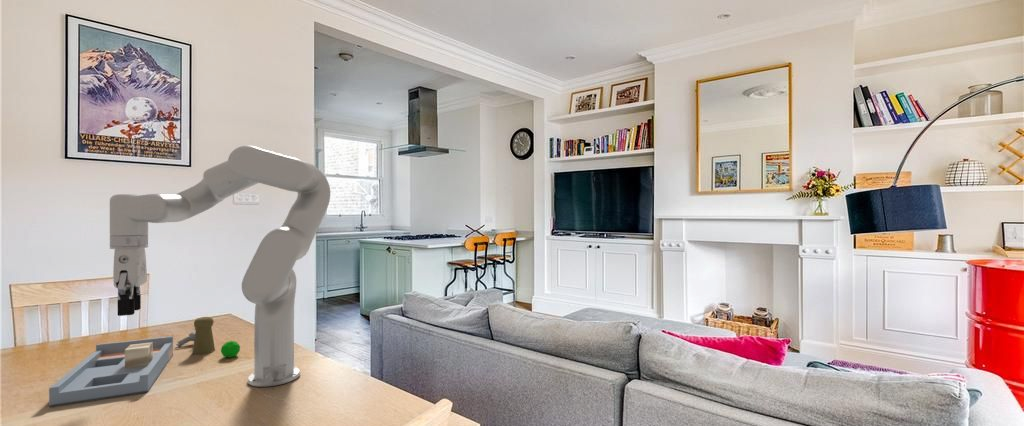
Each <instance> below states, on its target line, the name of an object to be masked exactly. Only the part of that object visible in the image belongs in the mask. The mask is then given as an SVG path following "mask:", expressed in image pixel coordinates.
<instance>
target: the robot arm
mask: <svg viewBox="0 0 1024 426" xmlns="http://www.w3.org/2000/svg"><path fill="white" fill-rule="evenodd" d="M326 177H327V176H325V174H324V173H323V172H322V171H321V170H320V169H319V168H318V167H317V166H315V165H314V164H312V163H310V162H307V161H304V160H301V159H299V158H296V157H292V156H287V155H283V154H281V153H278V152H277V153H276V152H274V151H271V150H270V151H269V150H266V149H262V148H260V147H257V146H254V145H241V146H238V147H236V148H235V149H233V151H231V152H230V154H229V155H228V158H227V160H226V161H224V162H221V163H219V164H217V165H214V166H212V167H209V168H207V169H206V170H205V171H204V172H203V174H202V179H201V180H200V181H199V182H198V183H196V184H195V185H193V186H191V187H189V188H187V189H184V190H182V191H179V192H177V193H175V194H173V193H150V194H149V193H148V194H128V193H127V194H126V193H125V194H124V193H123V194H118V193H117V194H113V195H112V196H111V197H110V198H109V249H110V250H114V254H113V271H112V272H113V275H112V277H113V278H112V279H113V281H112V282H113V286H114V288H116V289H117V316H119V317H122V316H133V315H134V314H135V312H136V311H140V310H141V305H142V304H141V299H142V298H141V297H142V295H141V286H142V285H144V284H145V283H147V281H148V273H147V255H146V250H145V249H146V248H149V223H150V224H151V223H152V224H163V223H164V224H165V223H178V222H183V221H186V220H188V219H191V218H193V217H195V216H197V215H200V214H201V213H204V212H206V211H208V210H210V209H212V208H214V207H215V206H216V205H218V204H219V203H221V202H223V201H224V200H225V199H227V198H228V197H231V196H233V195H235V194H237V193H240V192H242V191H244V190H246V189H248V188H250V187H252V186H255V185H257V184H263V185H266V186H268V187H269V186H270V187H274V188H278V189H281V190H285V191H288V192H293V193H294V192H295V193H297V196H296V199H295V201H294V203H293V204H292V205H291V207H290V209H289V211H288V214H287V215H286V218H285V220H284V222H283V223H282V225H281V227H277V228H274V229H272V230H270V231H269V232H268V233H266V235H265V236H264V237H263V239H261V241H260V243H259V245H258V247H257V249H256V251H255V253H254V255H253V256H252V258H251V261H250V263H249V266H248V267H247V269H246V271H245V273H244V276H243V278H242V282H241V291H242V295H243V296H244V298H245V299H246V300H247V301H249V302H250V303H252V304H254V305H255V306H254V327H253V329H254V334H253V335H254V339H253V340H254V343H253V345H254V346H253V347H254V349H253V350H254V354H253V355H254V357H253V358H254V360H253V363H254V367H253V368H254V369H253V371H254V372H252V373H251V374H249V376H248V377H247V383H248V385H250V386H252V387H259V388H260V387H267V388H268V387H273V386H274V387H275V386H279V385H283V384H287V383H290V382H293V381H294V380H296V379H297V378H299V377H300V375H301V370H300V368H299V367H296V366H295V302H296V301H295V299H296V293H297V292H296V290H297V275H296V272H295V271H294V269H293V268H294V266H295V265H296V262H297V261H298V260H301V259H303V258H304V257H305V256H306V255H307V253H308V252H309V250H310V247H311V245H312V242H313V240H314V238H315V236H316V233H317V232H318V230H319V227H320V225H321V223H322V220H323V219H324V217H325V215H326V212H327V210H328V207H329V204H330V201H331V186H330V183H329V181H328V179H327V178H326Z"/></svg>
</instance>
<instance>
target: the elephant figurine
mask: <svg viewBox="0 0 1024 426" xmlns="http://www.w3.org/2000/svg"><path fill="white" fill-rule="evenodd" d="M194 330H195V331H193V332H191V333H189V334H188V336H187V337H185V338H182V339H180V340H178V341H176V347H178V348H180V347H183V346H184V345H185V344H187V343H189V342H194V339H195V333H196V328H195V327H194Z"/></svg>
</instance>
